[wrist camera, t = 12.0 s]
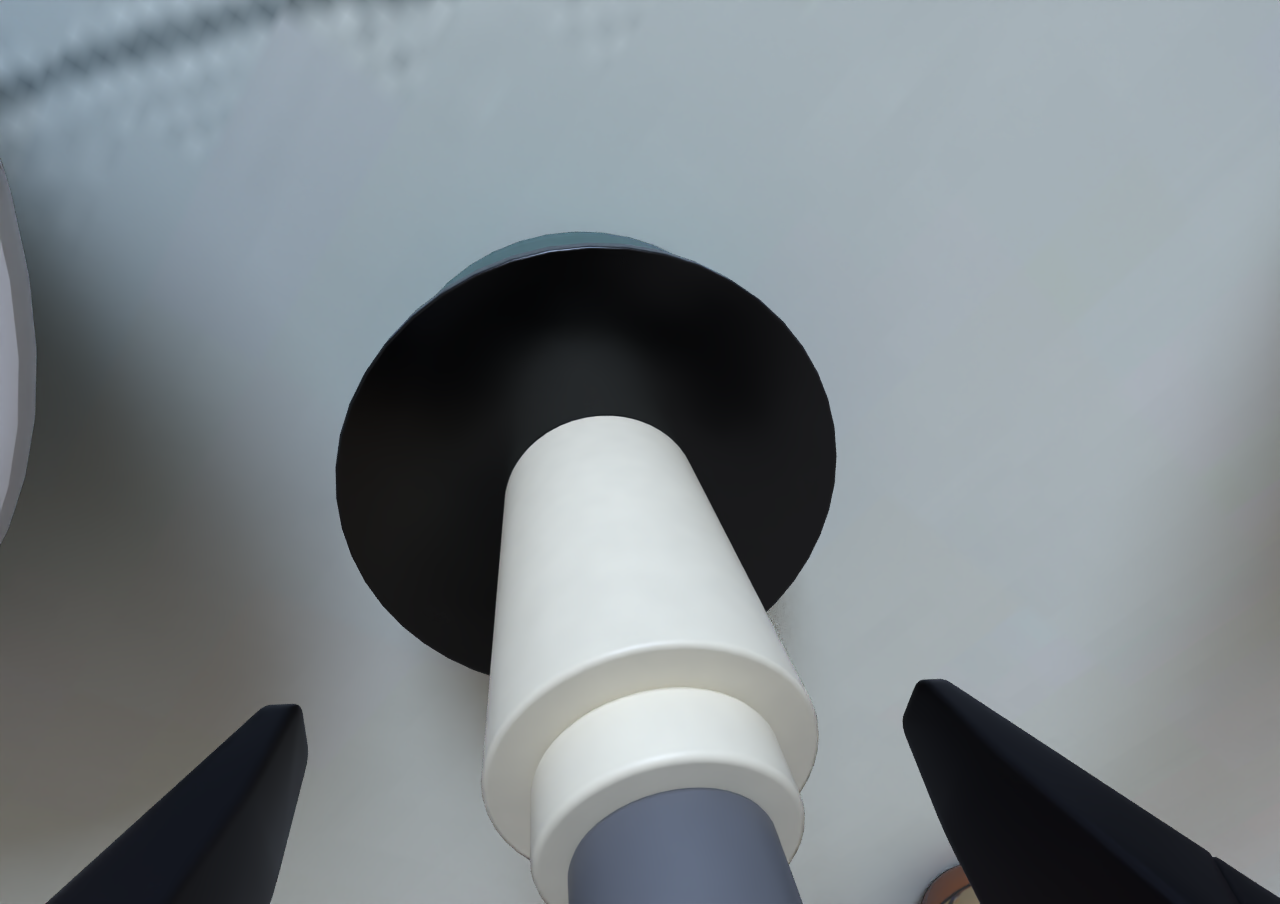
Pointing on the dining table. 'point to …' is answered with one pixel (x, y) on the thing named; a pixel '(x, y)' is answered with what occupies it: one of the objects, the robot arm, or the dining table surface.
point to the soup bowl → (14, 359)
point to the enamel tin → (573, 418)
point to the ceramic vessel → (951, 889)
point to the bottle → (638, 685)
